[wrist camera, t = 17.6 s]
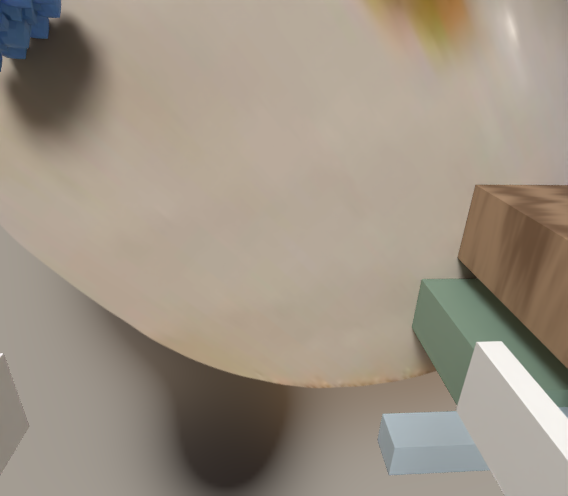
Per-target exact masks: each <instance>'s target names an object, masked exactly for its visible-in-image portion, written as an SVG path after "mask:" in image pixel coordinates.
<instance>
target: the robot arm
mask: <svg viewBox="0 0 568 496" xmlns="http://www.w3.org/2000/svg"><path fill="white" fill-rule="evenodd" d="M456 411H457V413H458V415H459V416H460V418H461V420H462V422H463V423H464V425H465V427H466V429H467V430H468V432H469V434H470V436H471V437H472V439H473V441H474V443H475V445H476V446H477V448H478V450H479V452H480V453H481V455H482V457H483V459H484V460H485V462H486V464H487V466H488V467H489V469H490V471H491V473H492V474H493V476H494V478H495V480H496V481H497V483H498V485H499V487H500V489H501V490H502V492H503V494H504V496H568V418H567V417H566V416H565V415H564V414H563V412H562V411H561V410H560V409H559V408H558V407H557V405H556V404H555V403H554V402H553V401H552V400H551V398H550V397H549V396H548V395H547V394H546V393H545V391H544V390H543V389H542V388H541V387H540V386H539V384H538V383H537V382H536V381H535V380H534V379H533V377H532V376H531V375H530V374H529V373H528V372H527V370H526V369H525V368H524V367H523V366H522V365H521V363H520V362H519V361H518V360H517V359H516V358H515V356H514V355H513V354H512V353H511V352H510V351H509V349H508V348H507V347H506V346H505V345H504V344H503V342H502V341H491V342H476V345H475V348H474V352H473V355H472V358H471V362H470V365H469V368H468V372H467V375H466V378H465V381H464V385H463V388H462V391H461V395H460V398H459V401H458V405H457V408H456ZM28 427H29V423H28V421H27V418H26V415H25V412H24V409H23V407H22V404H21V401H20V398H19V395H18V392H17V390H16V387H15V384H14V381H13V378H12V376H11V373H10V370H9V367H8V364H7V362H6V359H5V356H4V354H3V353H0V475H1V473H2V471H3V470H4V468H5V466H6V465H7V463H8V461H9V460H10V458H11V456H12V454H13V453H14V451H15V449H16V447H17V446H18V444H19V443H20V441H21V439H22V438H23V436H24V434H25V433H26V431H27V429H28Z"/></svg>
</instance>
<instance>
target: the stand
mask: <svg viewBox="0 0 568 496" xmlns="http://www.w3.org/2000/svg"><path fill="white" fill-rule="evenodd" d="M458 259H459V260H460V261H461V262H462V263H463V264H464V265H465V266H466V267H467V268H468V269H469V270H470V271H471V272H472V273H473V274H474V275H475V276H476V277H477V278H478V279H479V280H480V281H481V282H482V283H483V284H484V285H485V286H486V287H487V288H488V289H489V290H490V291H491V292H492V293H493V294H494V295H495V296H496V297H497V298H498V299H499V300H500V301H501V302H502V303H503V304H504V305H505V306H506V307H507V308H508V309H509V310H510V311H511V312H512V313H513V314H514V315H515V316H516V317H517V318H518V319H519V320H520V321H521V322H522V323H523V324H524V325H525V326H526V327H527V328H528V329H529V330H530V331H531V332H532V333H533V334H534V335H535V336H536V337H537V338H538V339H539V340H540V341H541V342H542V343H543V344H544V345H545V346H546V347H547V348H548V349H549V350H550V351H551V352H552V353H553V354H554V355H555V356H556V357H557V358H558V359H559V360H560V361H561V362H562V363H563V364H564V365H565V367H566V368H567V369H568V185H475V189H474V193H473V198H472V202H471V206H470V210H469V214H468V218H467V222H466V226H465V230H464V234H463V238H462V242H461V246H460V250H459V254H458Z"/></svg>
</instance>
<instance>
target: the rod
mask: <svg viewBox="0 0 568 496" xmlns="http://www.w3.org/2000/svg"><path fill="white" fill-rule="evenodd" d="M558 408H559V409H560V410H561V411H562V412H563V414H564V415H565V416H566V417H567V418H568V407H558ZM378 443H379V447H380V449H381V453H382V456H383V459H384V462H385V465H386V468H387V471H388V474H389V475H404V474H424V473H443V472H444V473H445V472H465V471H485V470H490V469H489V467H488V466H487V464H486V462H485V460H484V459H483V457H482V455H481V453H480V452H479V450H478V448H477V446H476V445H475V443H474V441H473V439H472V437H471V436H470V434H469V432H468V430H467V429H466V427H465V425H464V423H463V422H462V420H461V418H460V416H459V415H458V413H457V411H446V412H421V413H420V412H419V413H393V414H382V420H381V425H380V430H379V435H378Z"/></svg>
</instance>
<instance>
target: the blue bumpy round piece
mask: <svg viewBox="0 0 568 496" xmlns="http://www.w3.org/2000/svg"><path fill="white" fill-rule="evenodd" d="M60 13H61V0H0V72H1V67H2V56H5V57H7V58H14V59H26V53H27V48H29V43H30V37H31V38H39V39H48V34H49V19H48V17H49V18H60Z"/></svg>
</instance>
